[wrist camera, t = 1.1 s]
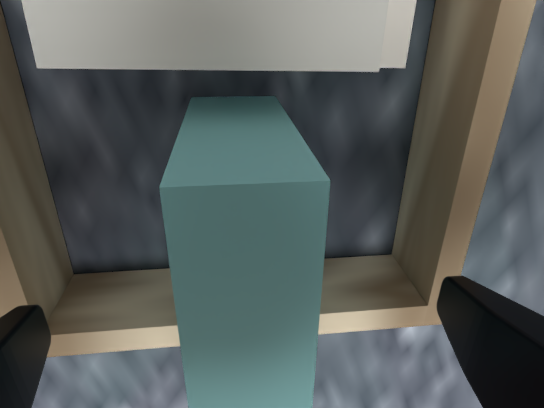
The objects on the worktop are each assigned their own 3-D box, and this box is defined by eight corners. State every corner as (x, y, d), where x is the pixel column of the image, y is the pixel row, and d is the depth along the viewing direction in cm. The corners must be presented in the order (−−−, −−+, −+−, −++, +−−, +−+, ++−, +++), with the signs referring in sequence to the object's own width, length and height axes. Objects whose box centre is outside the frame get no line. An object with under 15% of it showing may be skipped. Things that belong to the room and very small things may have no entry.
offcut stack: (400, -48, 13) (460, -68, 10) (384, 61, 14) (432, 76, 11) (47, -64, 11) (-21, -95, 8) (70, 57, 13) (21, 72, 10)
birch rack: (482, -94, 12) (572, -130, 9) (408, 271, 18) (447, 323, 15) (-72, -117, 10) (-198, -172, 7) (54, 294, 17) (16, 359, 13)
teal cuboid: (275, 95, 14) (331, 180, 7) (273, 246, 17) (311, 417, 10) (191, 96, 14) (158, 187, 7) (204, 250, 17) (191, 429, 9)
